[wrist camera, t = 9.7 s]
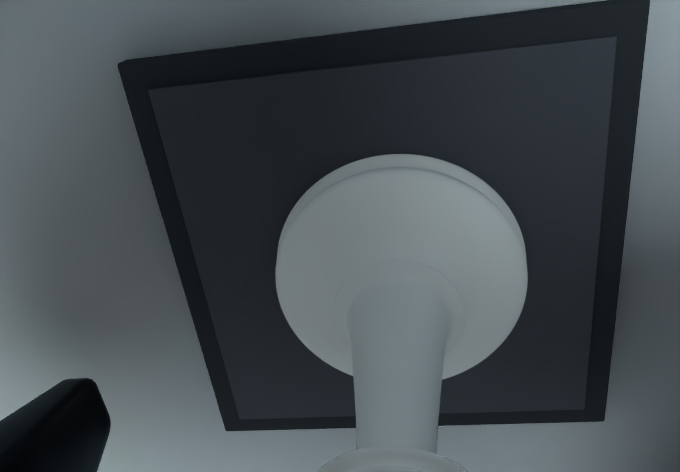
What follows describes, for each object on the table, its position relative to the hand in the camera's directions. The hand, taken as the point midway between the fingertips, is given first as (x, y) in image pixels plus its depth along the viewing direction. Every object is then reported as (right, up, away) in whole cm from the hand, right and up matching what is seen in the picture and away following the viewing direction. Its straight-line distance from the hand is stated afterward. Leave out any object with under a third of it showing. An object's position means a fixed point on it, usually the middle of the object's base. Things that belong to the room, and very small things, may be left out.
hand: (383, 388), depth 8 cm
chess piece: (+1, +2, +3) cm, 4 cm away
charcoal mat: (0, +2, +4) cm, 4 cm away
